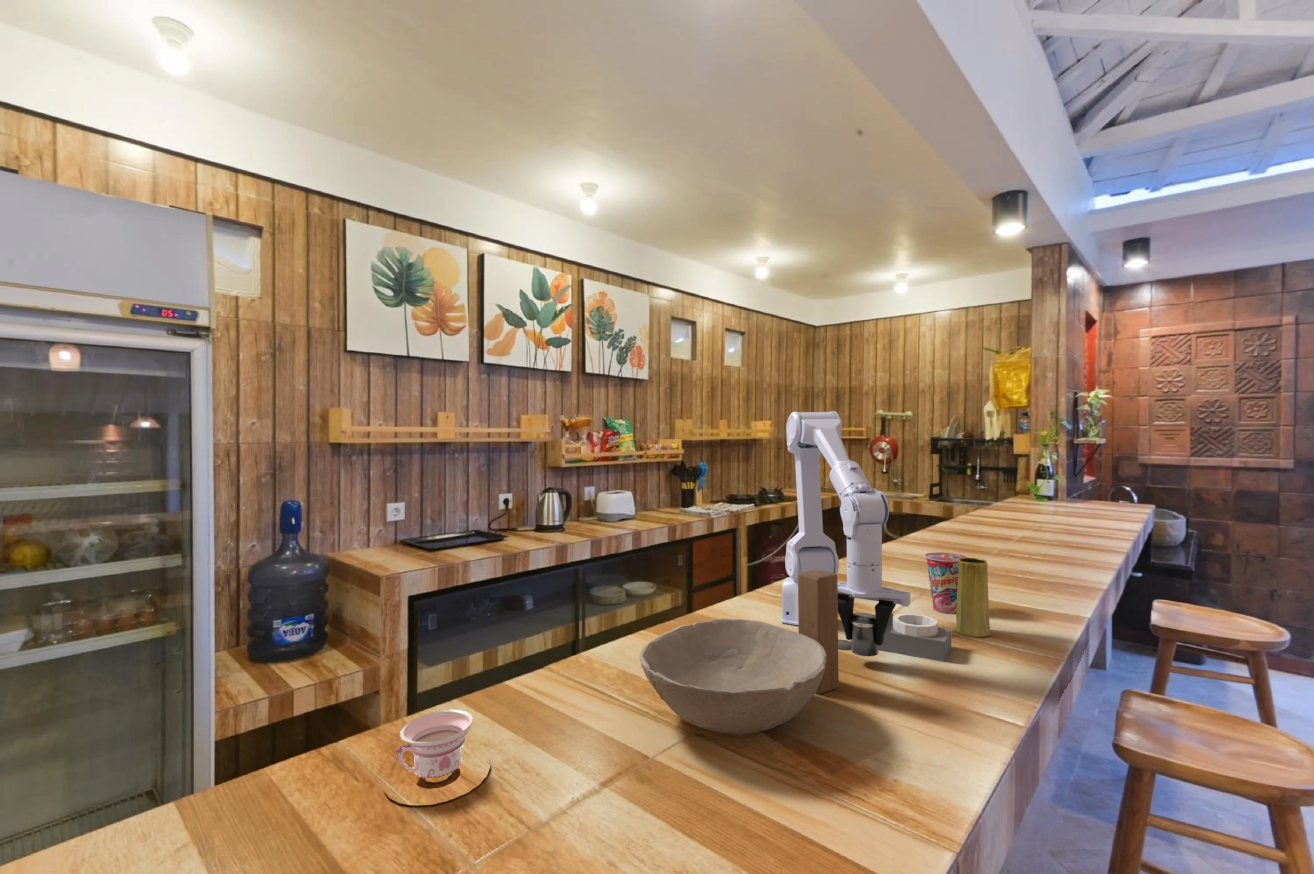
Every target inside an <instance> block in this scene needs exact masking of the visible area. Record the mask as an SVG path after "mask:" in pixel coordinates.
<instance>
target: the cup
mask: <svg viewBox="0 0 1314 874" xmlns="http://www.w3.org/2000/svg"><path fill="white" fill-rule="evenodd" d="M924 556H925V558H926V563H927V572H928V579H929V580H928V581H929V588H930V594H931V600H932V607H933V610H934V611H935V612H938V613H942V614H950V615H953V614H956V612H957V586H958V559H959V558H970V557H968V556H966V555H963V554H960V553H958V554H957V553H951V552H929V553H925V554H924Z"/></svg>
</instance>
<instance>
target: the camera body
mask: <svg viewBox="0 0 1314 874" xmlns="http://www.w3.org/2000/svg"><path fill="white" fill-rule="evenodd" d="M874 615H875V616H876V613H874ZM951 649H952V628H951V627H945V626H944V627H943V626H939V621H938V620H937V619H935V618H933V617H931V616H927V615H924V614H919V613H900V614H895V615H894V614H893V612H892V614H891V616H890V618H889V621H888V623H887V626H886V630H885V634H884V640H883V643H882V645H881V646H879V645H878V651H884V652H889V653H895V654H898V655H899V654H900V655H904V656H911V657H916V658H923V659H927V660H931V661H932V660H933V661H938V662H942V663H943V662H944V663H946V661H947V659H948V656H949V654H950V652H951Z"/></svg>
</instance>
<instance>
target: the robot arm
mask: <svg viewBox="0 0 1314 874" xmlns="http://www.w3.org/2000/svg"><path fill="white" fill-rule="evenodd" d="M785 429H786V431H785V432H786V433H785V434H786V446H787V451H788V452H789V453H791V454H794V463H795V464H794V465H795V481H796V482H795V483H796V499H797V501H796V502H797V516H798V517H797V519H798V532H797V533H796V534H795V535H794V536H793V537H792V538H790V539H789V540H788V541H787V542H786V546H785V549H786V550H785V552H786V553H785V558H784V562H785V571H786V573H787V575H788V577H786V578H785V579H784V580H783V582H782V589H781V619H780V623H783V624H789V625H794V626H798V574H799V573H801V572H806V571H811V570H816V569H817V570H821V571H825V572H829V573H834V574H836V575H837V574H838V572H839V569H840V560H839V556H838V554H837V548H836V543H835V541H834V540H833V539H831V538H830V537H829V536H828V535H826V534H825V533H824V523H823V522H824V521H823V506H822V489H821V476H820V475H821V472H820V457H821V456H823V457H824V459H825V461H826V462H827V464H828V465H829V467H830V468H831V469H830V472H829V475H828V476H829V480H830V481H831V484H832V486H833V488H834V490H835V491H836V494H837V496H838V498H839V500H840V502H841V503H840V507H839V513H840V517H841V520H842V524H843V527H842V529H843V534H844V535H845V536H846V582H844V581H843V582H842V581H841V582H840V581H838V617H839V619H840V621H841V623H842V627H843V631H844V634H845V640H847V641H851V615H852V614H854V605H855V604H854V603H855V599H859V600H866V601H873V602H874V601H875V602H878V603H876V604H875V606H874V611H875V613H874V614H876V625H877V630H876V645H879V646H881V645H882V643H883V640H884V634H885V630H886V626H887V623H888V621H889V618H890V616H891V614H892V613H893V611H894V609H895V607H896V605H901V606H902V607H906V608H908V607H910V605H911V592H908V591H903V590H897V589H895V588H888V587H886V586H883V578H882V577H883V549H882V548H883V544H882V543H883V535H882V534H883V533H882V532H883V526H884V525H886V523H887V522H888V519H889V516H890V515H889V513H890V508H889V502H888V500H887V498H886V495H885V493H884V492H883V491H879V490H877V488H875V487H872V485H871V484H870V483H869V479H867V477H866V475H865V473H864V471H863V470H862V468H861V466H860V464H859V463H858V462H856V461H854V460H850V458H849V457H850V456H849V455H848V452H847V450H846V448H845V445H844V443H843V441H842V438H841V437H842V432H843V431H842V430H843V423H842V418H841V416H840V415H839V413H838V411H837V412H836V411H835V410H832V411H815V412H814V411H812V412H811V411H809V412H808V411H807V412H806V411H802V412H798V411H792V412H791V413H790V415H789V416H788V418H787V422H786V427H785ZM808 547H809V548H808ZM811 547H812V548H811Z"/></svg>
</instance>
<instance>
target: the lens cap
mask: <svg viewBox="0 0 1314 874" xmlns="http://www.w3.org/2000/svg"><path fill="white" fill-rule="evenodd" d="M839 650H840V651H850V650H851V640H847V639H838V651H839Z"/></svg>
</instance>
